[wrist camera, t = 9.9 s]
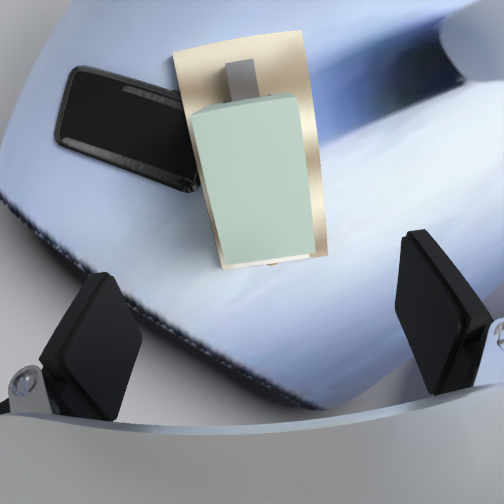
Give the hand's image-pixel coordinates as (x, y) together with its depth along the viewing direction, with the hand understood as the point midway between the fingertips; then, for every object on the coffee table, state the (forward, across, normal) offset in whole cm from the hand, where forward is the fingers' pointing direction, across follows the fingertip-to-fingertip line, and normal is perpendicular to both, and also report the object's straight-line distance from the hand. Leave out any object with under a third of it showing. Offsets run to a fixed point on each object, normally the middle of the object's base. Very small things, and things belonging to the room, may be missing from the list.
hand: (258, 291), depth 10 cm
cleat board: (+19, 0, +1) cm, 19 cm away
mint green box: (+18, 0, 0) cm, 18 cm away
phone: (+19, +10, -4) cm, 22 cm away
